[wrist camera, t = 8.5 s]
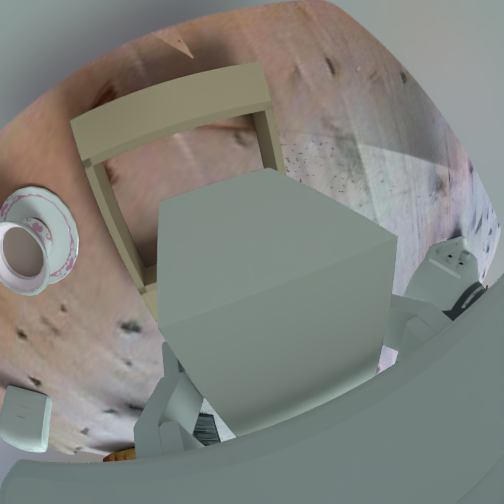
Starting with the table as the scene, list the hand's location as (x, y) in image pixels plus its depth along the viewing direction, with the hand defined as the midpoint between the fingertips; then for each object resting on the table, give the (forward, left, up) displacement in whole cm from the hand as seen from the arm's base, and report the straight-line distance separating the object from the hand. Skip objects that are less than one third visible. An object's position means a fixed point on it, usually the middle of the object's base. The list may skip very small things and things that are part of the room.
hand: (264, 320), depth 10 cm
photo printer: (+43, +22, -21) cm, 53 cm away
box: (0, 0, -3) cm, 3 cm away
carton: (0, 0, -21) cm, 21 cm away
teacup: (+20, -2, -21) cm, 29 cm away
